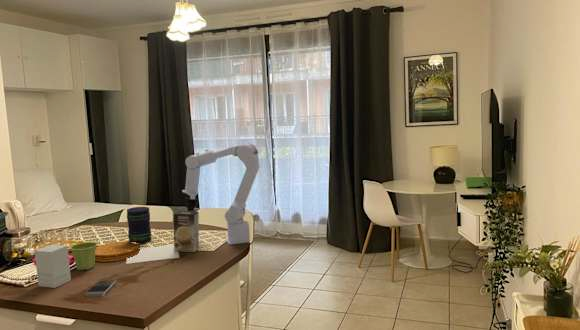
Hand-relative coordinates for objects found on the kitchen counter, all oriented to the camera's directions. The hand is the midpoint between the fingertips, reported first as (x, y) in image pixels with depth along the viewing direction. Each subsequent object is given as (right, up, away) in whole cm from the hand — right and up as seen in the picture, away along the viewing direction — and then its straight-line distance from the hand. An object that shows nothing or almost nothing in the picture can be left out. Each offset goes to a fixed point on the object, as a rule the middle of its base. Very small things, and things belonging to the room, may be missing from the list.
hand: (189, 210), depth 195 cm
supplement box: (-36, -20, -47) cm, 62 cm away
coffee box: (+2, -15, -14) cm, 21 cm away
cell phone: (-17, -21, -53) cm, 60 cm away
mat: (-11, -16, -18) cm, 26 cm away
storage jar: (-23, -14, +1) cm, 27 cm away
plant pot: (-32, -19, -32) cm, 49 cm away
